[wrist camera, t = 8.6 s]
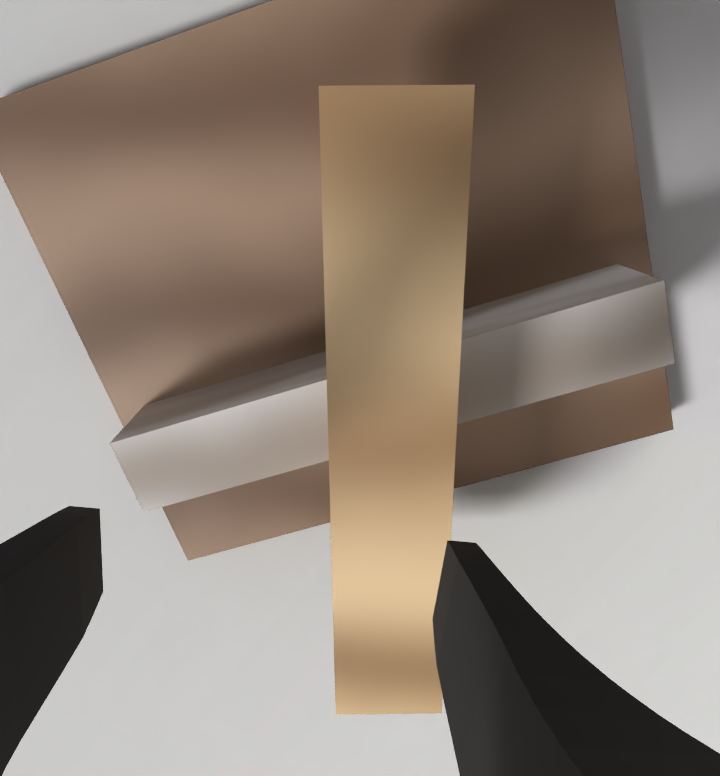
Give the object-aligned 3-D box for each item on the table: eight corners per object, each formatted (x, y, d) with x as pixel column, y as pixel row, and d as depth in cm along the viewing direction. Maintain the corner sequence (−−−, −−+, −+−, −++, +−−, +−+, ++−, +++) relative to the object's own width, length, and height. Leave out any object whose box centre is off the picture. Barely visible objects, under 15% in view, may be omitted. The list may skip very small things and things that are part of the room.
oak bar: (429, 635, 20) (441, 713, 17) (338, 636, 20) (335, 714, 17) (451, 102, 14) (475, 84, 11) (325, 102, 14) (318, 85, 11)
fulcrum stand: (-10, 112, 18) (-108, 96, 14) (583, -101, 16) (652, -183, 12) (194, 544, 23) (163, 617, 19) (659, 417, 21) (724, 470, 18)
